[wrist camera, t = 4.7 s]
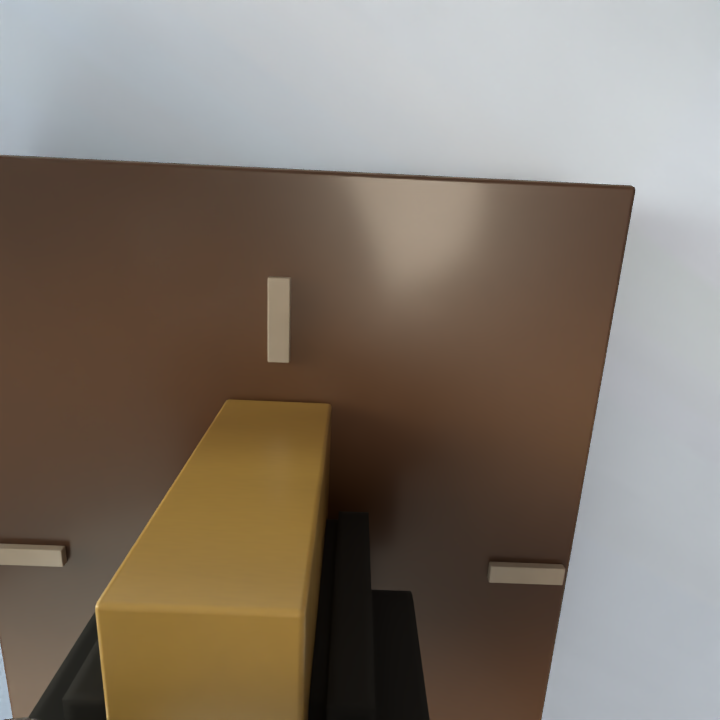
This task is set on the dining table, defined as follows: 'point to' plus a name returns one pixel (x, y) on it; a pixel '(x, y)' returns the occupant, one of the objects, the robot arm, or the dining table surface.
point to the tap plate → (307, 384)
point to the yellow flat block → (225, 576)
